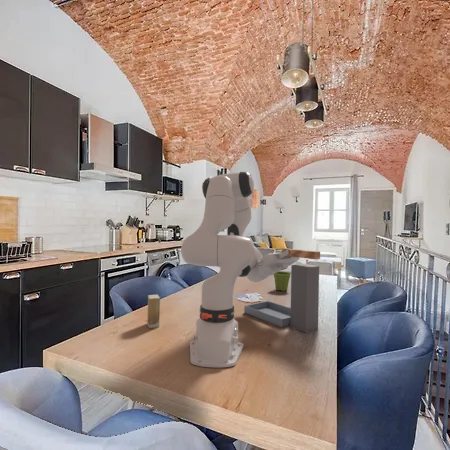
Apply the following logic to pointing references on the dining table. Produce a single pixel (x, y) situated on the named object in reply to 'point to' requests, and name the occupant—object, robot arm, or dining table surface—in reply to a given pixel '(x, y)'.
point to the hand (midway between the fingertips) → (292, 251)
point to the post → (304, 297)
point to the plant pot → (281, 280)
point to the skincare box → (153, 311)
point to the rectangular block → (303, 253)
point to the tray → (270, 313)
